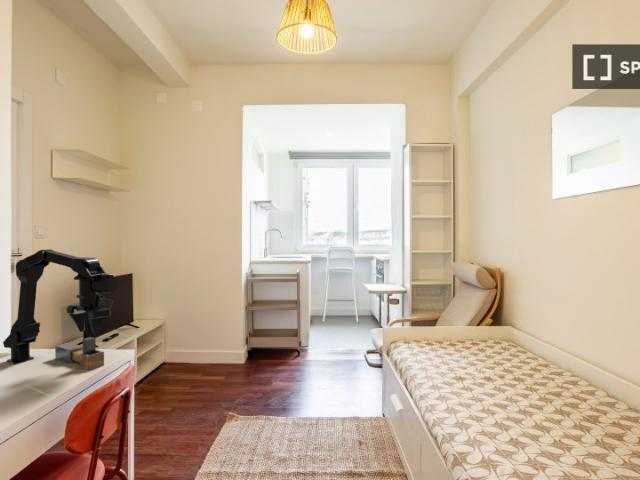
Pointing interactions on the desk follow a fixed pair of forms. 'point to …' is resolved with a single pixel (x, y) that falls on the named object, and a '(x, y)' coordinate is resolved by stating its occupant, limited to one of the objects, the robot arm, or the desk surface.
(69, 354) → the sleeve
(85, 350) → the slider
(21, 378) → the desk surface
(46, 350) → the desk surface
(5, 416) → the desk surface
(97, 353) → the socket
